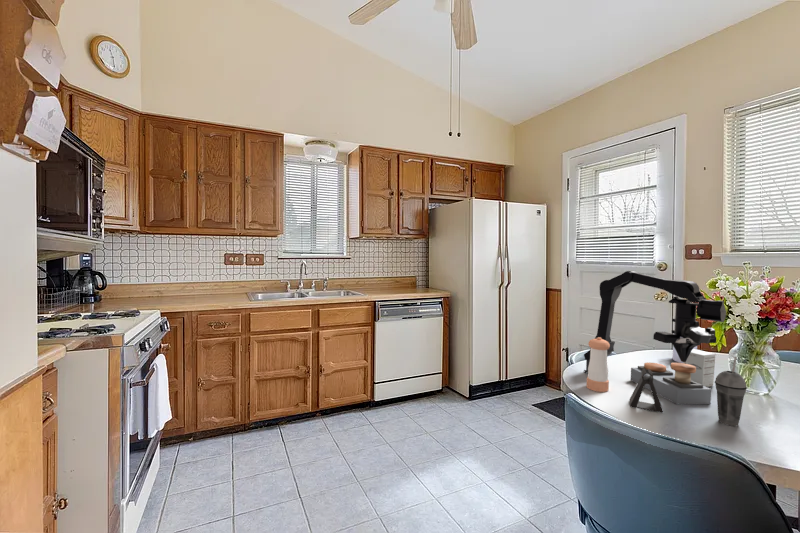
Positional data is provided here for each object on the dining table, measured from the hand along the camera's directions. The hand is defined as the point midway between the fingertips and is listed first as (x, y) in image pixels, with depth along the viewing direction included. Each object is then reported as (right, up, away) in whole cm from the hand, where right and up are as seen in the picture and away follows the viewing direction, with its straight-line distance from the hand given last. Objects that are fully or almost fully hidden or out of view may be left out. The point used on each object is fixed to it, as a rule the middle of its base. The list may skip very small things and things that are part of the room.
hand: (683, 361), depth 131 cm
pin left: (-1, -11, +13) cm, 17 cm away
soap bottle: (+34, -12, +44) cm, 57 cm away
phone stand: (-18, -13, -7) cm, 23 cm away
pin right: (0, -8, 0) cm, 8 cm away
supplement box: (+17, -13, +15) cm, 26 cm away
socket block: (-1, -13, +7) cm, 14 cm away
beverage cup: (0, -14, -18) cm, 23 cm away
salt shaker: (-25, -12, +9) cm, 30 cm away
